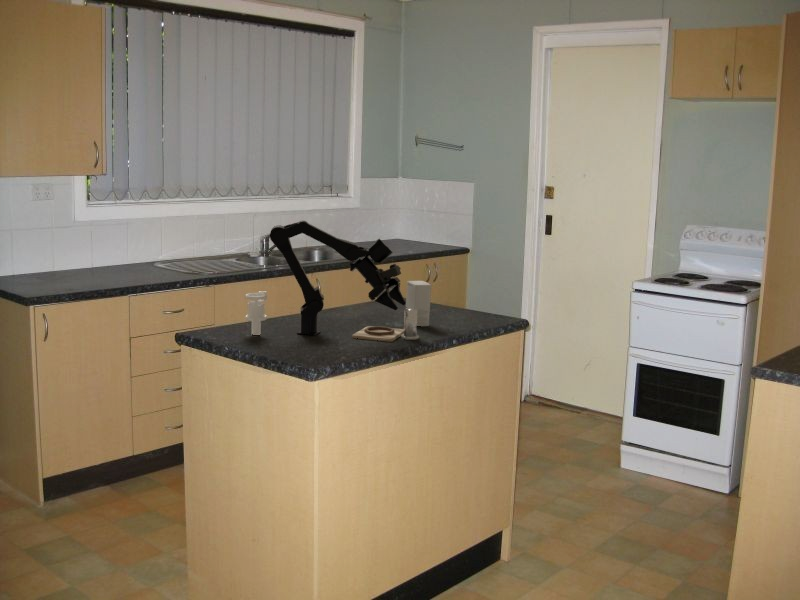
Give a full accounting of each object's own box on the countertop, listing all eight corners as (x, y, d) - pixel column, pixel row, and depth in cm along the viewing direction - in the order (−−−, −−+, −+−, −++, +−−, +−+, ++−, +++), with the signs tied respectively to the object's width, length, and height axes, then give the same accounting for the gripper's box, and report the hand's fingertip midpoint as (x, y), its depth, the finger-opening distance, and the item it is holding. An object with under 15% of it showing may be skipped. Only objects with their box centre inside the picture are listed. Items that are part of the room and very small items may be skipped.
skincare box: (404, 322, 330) (405, 280, 327) (420, 321, 332) (422, 280, 330) (413, 327, 322) (415, 284, 319) (430, 326, 325) (432, 283, 322)
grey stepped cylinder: (266, 337, 300) (266, 293, 297) (245, 337, 299) (245, 293, 296) (266, 332, 307) (266, 289, 304) (245, 332, 306) (245, 289, 303)
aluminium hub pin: (415, 340, 301) (416, 311, 300) (398, 339, 303) (399, 310, 301) (420, 337, 307) (421, 308, 305) (404, 335, 309) (404, 307, 307)
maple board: (391, 341, 299) (391, 336, 298) (352, 337, 303) (352, 332, 303) (405, 332, 314) (405, 326, 313) (367, 328, 318) (368, 323, 318)
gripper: (378, 260, 294) (409, 296, 293) (395, 253, 312) (425, 287, 310) (355, 282, 298) (386, 317, 297) (373, 274, 315) (402, 307, 314)
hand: (400, 306), depth 304 cm, fingers open, 9 cm apart
